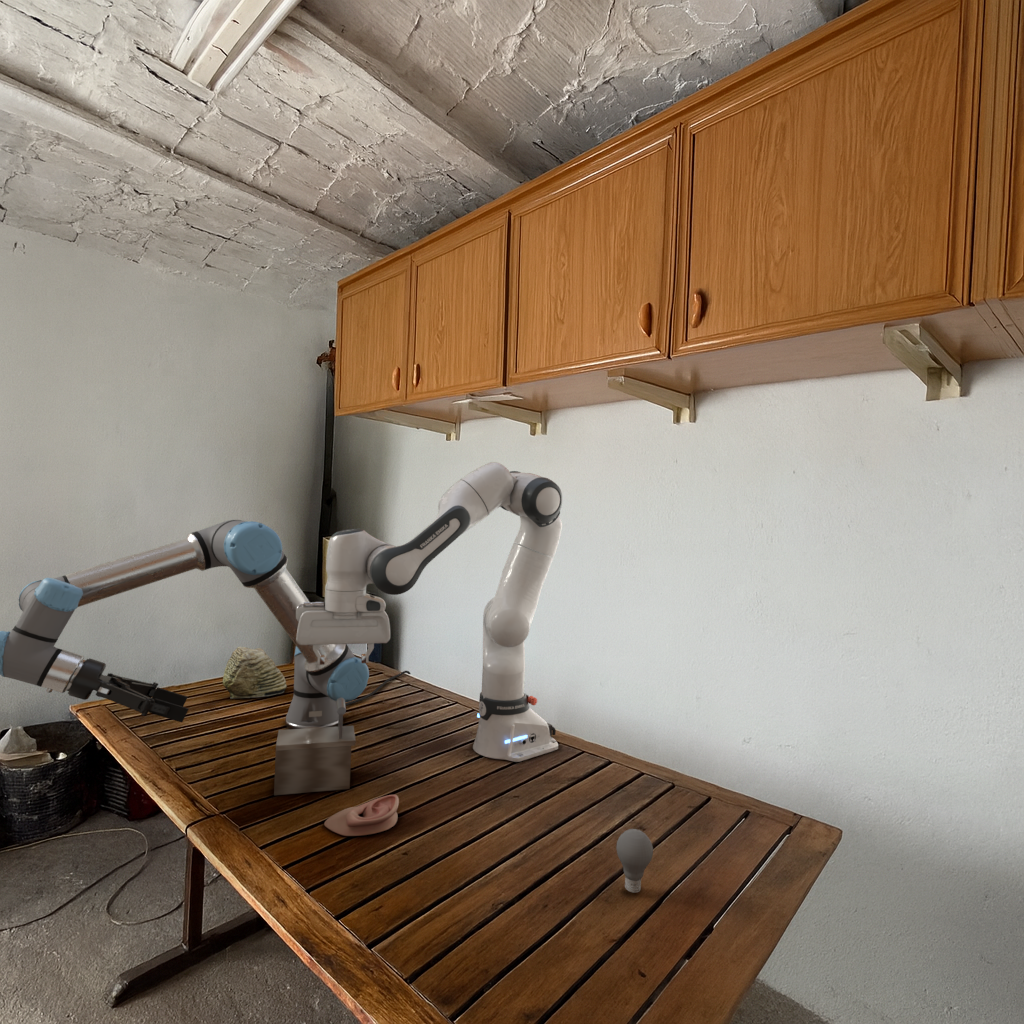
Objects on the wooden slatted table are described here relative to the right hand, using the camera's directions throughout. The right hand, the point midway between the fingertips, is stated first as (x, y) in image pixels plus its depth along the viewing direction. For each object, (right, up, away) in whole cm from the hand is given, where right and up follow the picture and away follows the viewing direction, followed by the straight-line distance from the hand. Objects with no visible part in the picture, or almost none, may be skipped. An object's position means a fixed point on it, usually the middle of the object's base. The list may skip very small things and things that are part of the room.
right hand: (343, 663), depth 141 cm
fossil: (-43, -24, +57) cm, 75 cm away
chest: (-6, -26, -1) cm, 27 cm away
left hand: (-31, -8, -8) cm, 33 cm away
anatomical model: (+8, -27, -17) cm, 33 cm away
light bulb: (+58, -30, -35) cm, 74 cm away
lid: (-6, -17, -1) cm, 18 cm away
